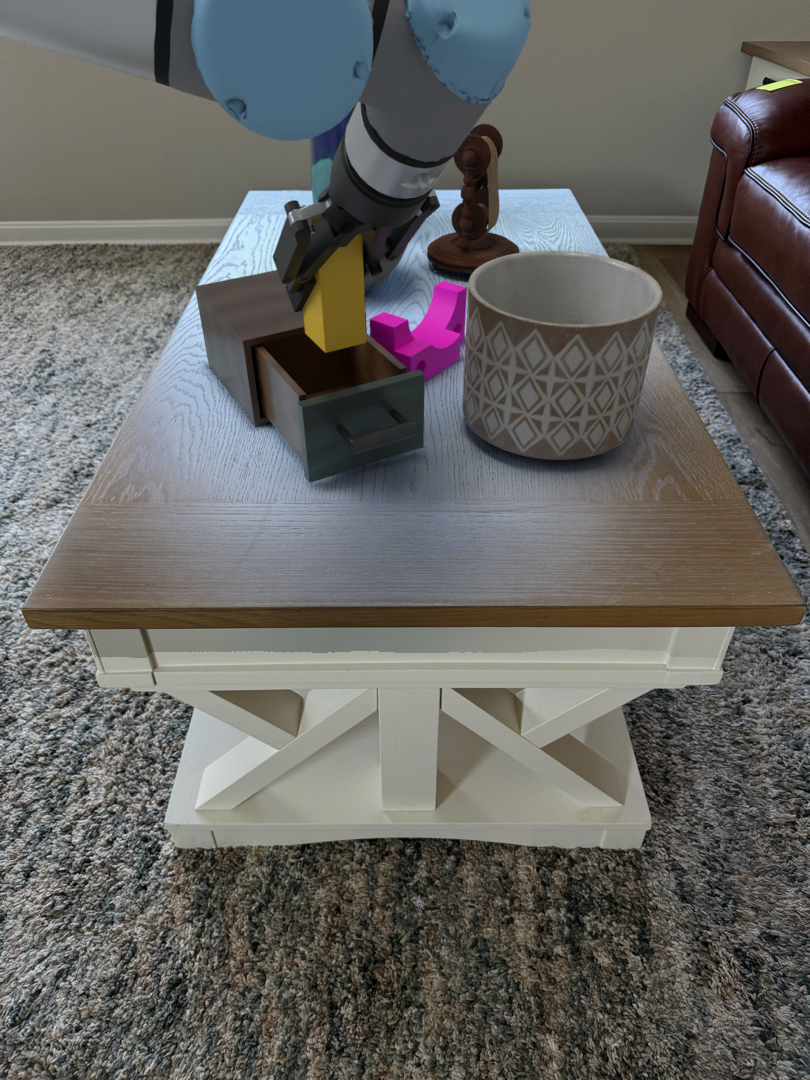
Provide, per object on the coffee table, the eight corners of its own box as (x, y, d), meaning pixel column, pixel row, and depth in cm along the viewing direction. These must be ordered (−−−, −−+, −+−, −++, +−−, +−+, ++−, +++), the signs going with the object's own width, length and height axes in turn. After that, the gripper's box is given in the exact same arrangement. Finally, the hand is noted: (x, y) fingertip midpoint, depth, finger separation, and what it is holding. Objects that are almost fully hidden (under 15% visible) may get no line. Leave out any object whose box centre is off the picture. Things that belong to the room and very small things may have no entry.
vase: (302, 241, 135) (284, 26, 115) (331, 216, 145) (319, 14, 125) (379, 250, 132) (374, 30, 112) (403, 223, 142) (402, 17, 122)
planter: (666, 451, 85) (703, 307, 75) (507, 488, 80) (522, 339, 70) (576, 372, 99) (597, 241, 89) (435, 399, 94) (439, 263, 84)
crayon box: (325, 353, 76) (316, 238, 69) (304, 333, 80) (294, 222, 72) (366, 343, 78) (362, 230, 71) (344, 324, 81) (338, 214, 74)
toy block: (410, 390, 96) (410, 333, 91) (371, 375, 99) (369, 319, 94) (479, 346, 105) (483, 292, 100) (441, 333, 108) (443, 280, 103)
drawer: (444, 468, 82) (447, 393, 76) (327, 506, 77) (321, 429, 71) (359, 385, 95) (356, 316, 89) (255, 413, 90) (244, 342, 84)
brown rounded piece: (505, 288, 120) (516, 145, 107) (414, 275, 124) (414, 136, 111) (527, 254, 130) (541, 121, 117) (443, 244, 134) (447, 113, 121)
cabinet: (369, 395, 95) (366, 312, 88) (255, 426, 89) (242, 340, 83) (313, 341, 106) (306, 263, 99) (208, 366, 101) (194, 286, 94)
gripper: (299, 223, 54) (247, 348, 76) (509, 185, 61) (406, 310, 82) (262, 122, 54) (221, 275, 76) (475, 95, 61) (381, 244, 83)
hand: (317, 293), depth 79 cm, fingers closed on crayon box, 4 cm apart
